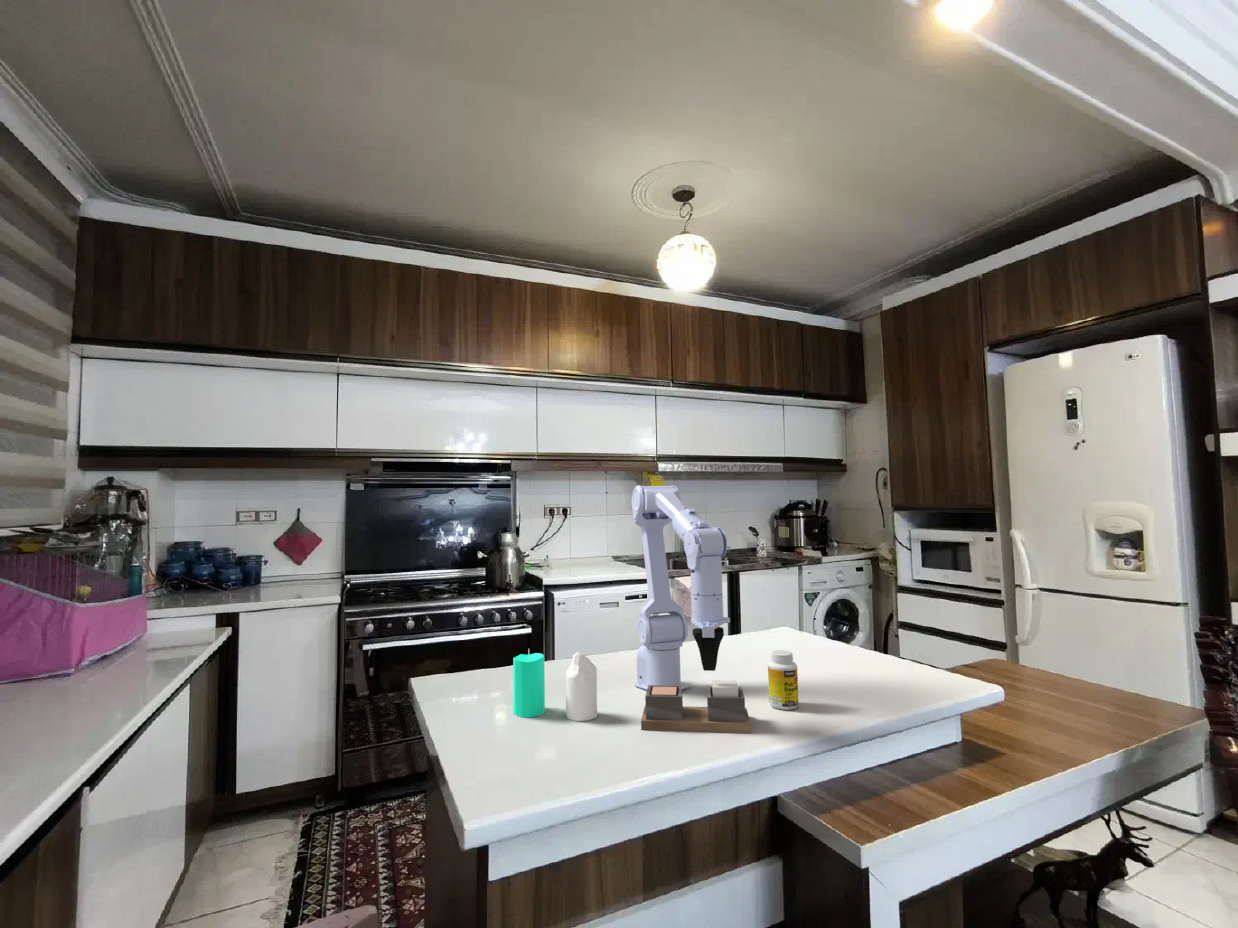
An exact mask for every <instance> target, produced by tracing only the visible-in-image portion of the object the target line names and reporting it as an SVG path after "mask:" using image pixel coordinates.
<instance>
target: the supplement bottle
mask: <svg viewBox="0 0 1238 928" xmlns="http://www.w3.org/2000/svg"><path fill="white" fill-rule="evenodd" d="M793 660H794V655H793V652H791V651H790V650H783V649H781V650H780V649H779V650H777V649H776V650H772V651H771V660H769V662H768V663H767V678H768V681H767V682H768V703H769V705H770V706H771V707H772V708H775V709H777V710H784V711H790V710H791V711H792V710H795V709H797V708H798V706H799V683H798V682H799V681H798V678H799V677H798V676H799V675H798V664H797V663H796V662H795V661H793Z"/></svg>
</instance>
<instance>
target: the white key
mask: <svg viewBox="0 0 1238 928" xmlns="http://www.w3.org/2000/svg"><path fill="white" fill-rule="evenodd" d="M711 682H712V683H711V684H712V685H711V687H712V690H713V697H738V687H739V686H738V682H737V679H736V680H735V679H734V680H731V679H712V680H711Z"/></svg>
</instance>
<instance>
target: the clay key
mask: <svg viewBox="0 0 1238 928" xmlns="http://www.w3.org/2000/svg"><path fill="white" fill-rule="evenodd" d="M651 695H658V696H677V687H653V689H652V694H651Z"/></svg>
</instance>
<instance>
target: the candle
mask: <svg viewBox="0 0 1238 928" xmlns="http://www.w3.org/2000/svg"><path fill="white" fill-rule="evenodd" d="M512 659H513V660H512V662H513V664H512V672H513V674H512V676H513V677H512V678H513V679H512V680H513V682H512V683H513V684H512V685H513V694H512V695H513V698H512V699H513V705H512V706H513V714H514V715H515V716H516V715H517V716H516V717H519V716H520V718H533V717H539V716H541V715H543V714H544V713H545V711H546V706H545V705H546V701H545V697H546V696H545V695H546V694H545V655H544V654H543V653H539V652H538V653H537V652H535V653H532V654H531V653H530V648H528V653H527V654H523V653H522V654H521V653H520V654H519V655H516V656H515V657H513V658H512ZM540 714H541V715H540ZM538 715H539V716H538Z"/></svg>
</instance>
